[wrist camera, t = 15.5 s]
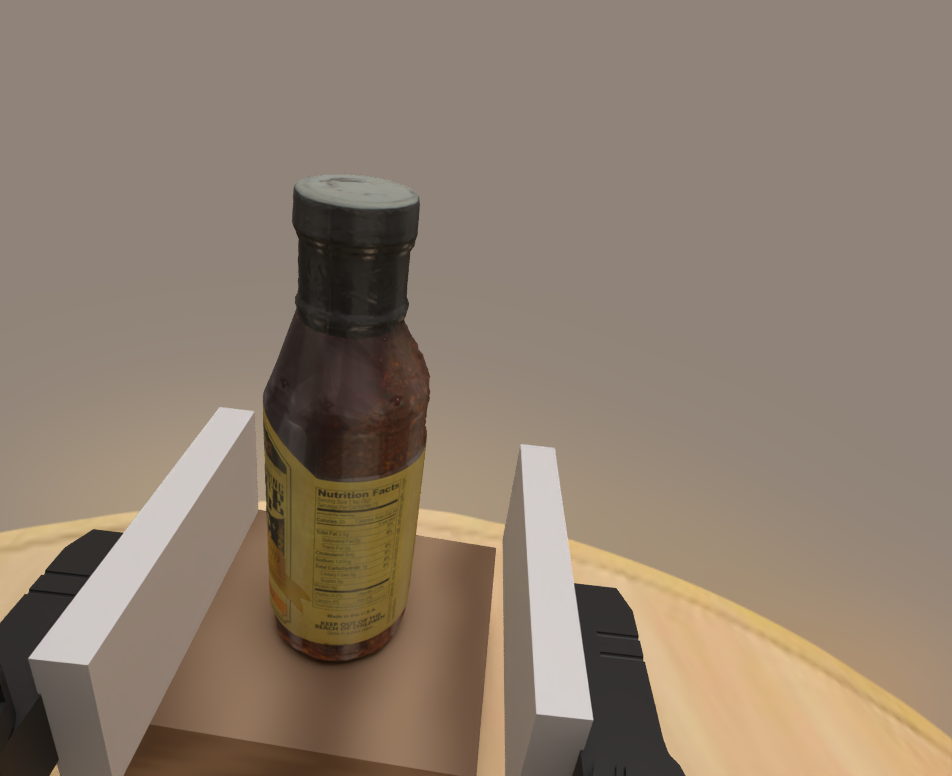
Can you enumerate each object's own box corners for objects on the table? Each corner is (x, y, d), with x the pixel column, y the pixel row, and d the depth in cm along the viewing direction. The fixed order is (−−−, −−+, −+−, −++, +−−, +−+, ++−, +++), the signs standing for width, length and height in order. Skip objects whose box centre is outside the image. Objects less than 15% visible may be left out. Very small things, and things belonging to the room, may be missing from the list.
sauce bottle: (294, 560, 34) (295, 154, 24) (415, 578, 34) (462, 179, 24) (246, 667, 28) (223, 187, 19) (393, 688, 28) (443, 220, 19)
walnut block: (130, 809, 28) (112, 718, 25) (250, 587, 39) (246, 508, 37) (457, 864, 28) (475, 778, 25) (481, 625, 39) (495, 548, 36)
